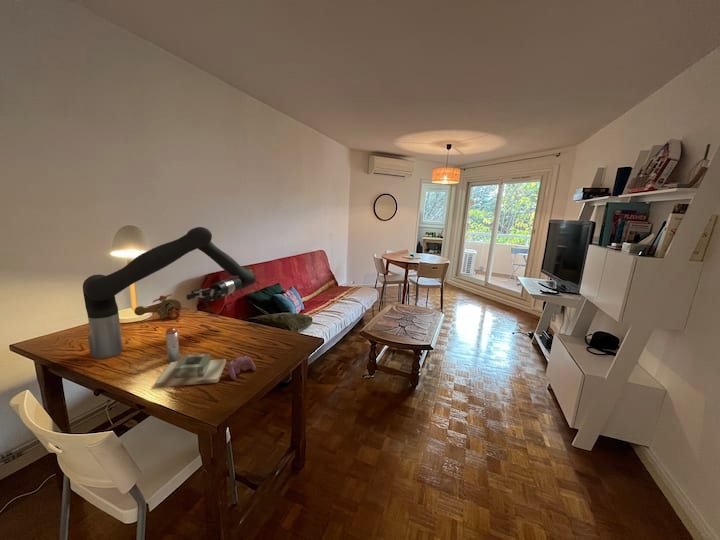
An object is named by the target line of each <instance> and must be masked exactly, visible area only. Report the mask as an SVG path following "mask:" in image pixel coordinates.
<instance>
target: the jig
mask: <svg viewBox="0 0 720 540" xmlns="http://www.w3.org/2000/svg"><path fill="white" fill-rule="evenodd" d="M226 363H227V359H226V358H223V359H211V353H198V354H197V353H196V354H182V356H181V357H180V358H179V360H178V361H174V362H170V363H169V365H168V366H167V367H166V369H164V371H163V373H162V374H161V375H160V376H159V378H158V379H157V380H156V381H155V384H154V385H155V388H159V387H161V388H163V387H174V386H176V387H177V386H188V385H189V386H191V385H201V384H216V383H218V382H219V381H220V379H221V375H222V374H223V371H224V368H225V366H226V365H227V364H226Z"/></svg>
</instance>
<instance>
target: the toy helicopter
mask: <svg viewBox="0 0 720 540" xmlns="http://www.w3.org/2000/svg"><path fill="white" fill-rule="evenodd" d="M171 296H173V294H172V293H170V294H166V295H159V297H158V298H156V299H154V300H153V301H152V303H155V302H159V304H158V305H157V304H156V305H154V306H153V305H152V306H146V307H145V306H142V305H139V306H136V307H135V308H134V311H133V312H134V315H136V316H143V315H145V314H152V313H157V314H158V315H159V318H160V319H161V320H163V319H165V318H170V320H176V319H179V318H180V311H181V309H182V303H181V302H180V300H178V299H176V298H168V297H171Z"/></svg>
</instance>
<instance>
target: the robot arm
mask: <svg viewBox="0 0 720 540" xmlns="http://www.w3.org/2000/svg"><path fill="white" fill-rule="evenodd" d="M212 238H213V236H212V231H210V230H209V229H208V228H206V227H202V226H197V227H194V228H191V229H189V231H188V232H187V233H185V234H183V236H181V237H179V238H177V239H174V240H171V241H169V242H165V243H163V244H160V245H158V246H155V247H153V248H151V249H149V250H146V251H145V252H143V253H140V255H137V256H136V257H135V258H134V259H132V260H131V261H130V262H128V263H127V264H126V265H125V266H124V267H122V268H120V269H118V270H116V271H114V272H112V273H110V274H107V275H105V274H93V275H91V276H90V275H89V277H87V278H86V279H85V280H84V281H83V284H82V292H83V299H84V305H85V310H86V313H87V319H88V325H89V326H88V327H89V334H88V335H87V340H88V341H87V342H88V347H89V354H90V358H94V359H108V358H111V357H115V356H117V355H119V354H121V353H122V352H123V350H124V348H123V347H124V346H123V339H122V331H121V322H120V316H119V307H118V304H117V300H116V295H118V294H120V293H121V292H123V290H125V289H127V288H128V287H130V286H131V285H133V284H135V283H137V282H139V281H141V280H143V279H144V278H147V277H149V276H151V275H152V274H154V273H157V272H159V271H161V270H162V269H164V268H166V267H168V266H169V265H171V264H172V263H174V262H176V261H178V260H179V259H181V258H182V257H183V256H185V255H187V254H188V253H190V252H192V251H193V252H194V251H195V250H199V251H201V252H202V253H204V254H205V255H206V256H208V257H209V258H210V259H211V260H213V261H214V262H215V263H216V264H217V265H218V266H219V267H220V268H222V269H223V270H224V271H225V272H226V273H227V274H228V275H229V276H232V277H231V278H228V279H223V280H221V281H218V282H217V281H216V282H215V283H212V284H211V285H210V286H209V287H207V288H205V289H204V287H200V288H197V289H194V290H191V293H189V294H186V300H188V301H190V300H193V299H196V298H201V303H207V302H209V301H211V302H212V301H215V302H217V301H219V300H222V299H223V298H225V297H226V296H228V295H229V296H230V295H231V294H232V293H236V292H237V291H239V290H242V289H243V290H244V289H245V288H248V287H249V286H252V285H253V284H255V283H256V281H257V279H256V275H255V273H253V272H252V271H250V270H249V269H247V268H245V267H243V266H241V265H240V264H239V263H238V262H237V261H236V260H235V259H234V258H233V257H231V256H230V255H229V254H227V253H226V252H224V251H222V250H221V249H220V248H219V247H218V246H216V245H215V244H214V243H213V242H212Z"/></svg>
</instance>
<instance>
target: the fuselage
mask: <svg viewBox="0 0 720 540" xmlns="http://www.w3.org/2000/svg"><path fill="white" fill-rule="evenodd" d="M178 333H179V332H178V329H177V328H176V327H169V328H167V329H166V331H165V340H166V352H167V353H166V355H167V361H168V362H170V363H171V362H178V361H179V360H180V345H179V334H178Z"/></svg>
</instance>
